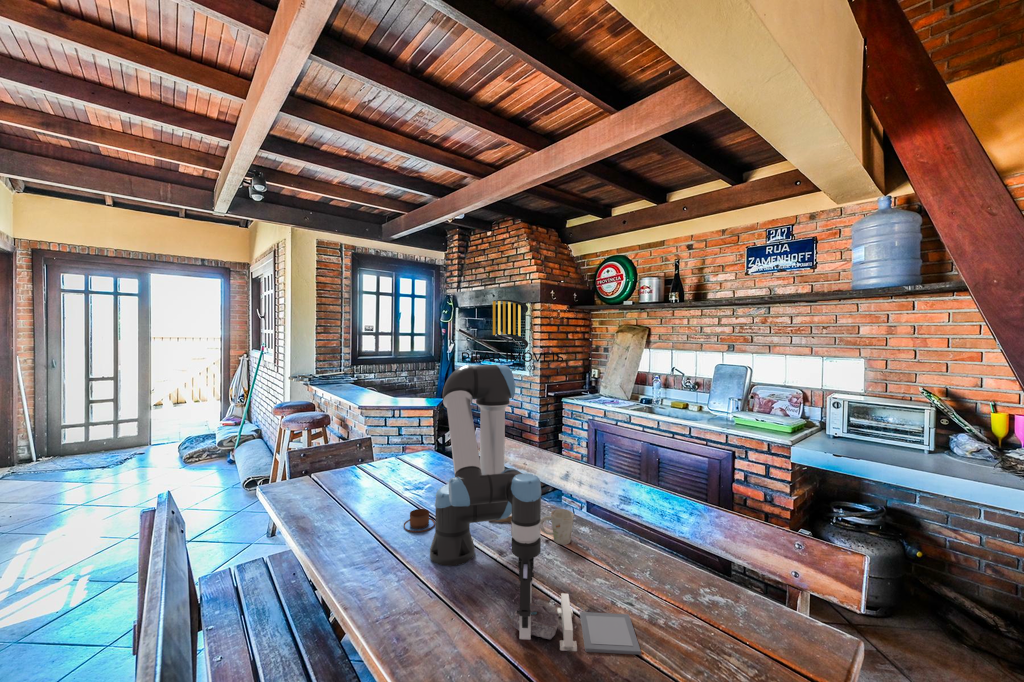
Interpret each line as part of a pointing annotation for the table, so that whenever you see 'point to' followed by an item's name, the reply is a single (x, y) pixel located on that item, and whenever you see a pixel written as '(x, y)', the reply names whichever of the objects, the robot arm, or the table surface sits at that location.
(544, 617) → the rock
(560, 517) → the mug
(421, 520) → the cup and saucer
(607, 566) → the table surface
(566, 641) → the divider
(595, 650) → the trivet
